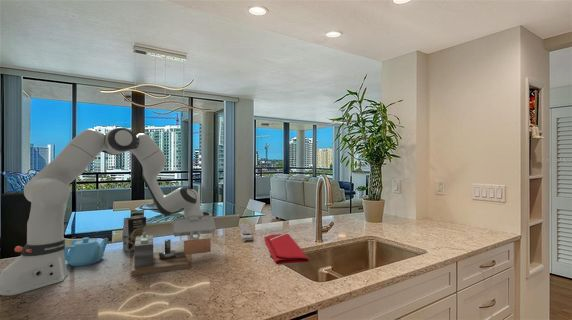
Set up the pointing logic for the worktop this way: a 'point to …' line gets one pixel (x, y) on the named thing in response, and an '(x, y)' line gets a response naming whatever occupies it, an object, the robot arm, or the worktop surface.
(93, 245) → the teapot
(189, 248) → the wooden lever
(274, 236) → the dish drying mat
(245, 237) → the mobile phone
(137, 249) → the stand
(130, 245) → the coffee box
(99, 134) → the robot arm
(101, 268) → the worktop surface
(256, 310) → the worktop surface
